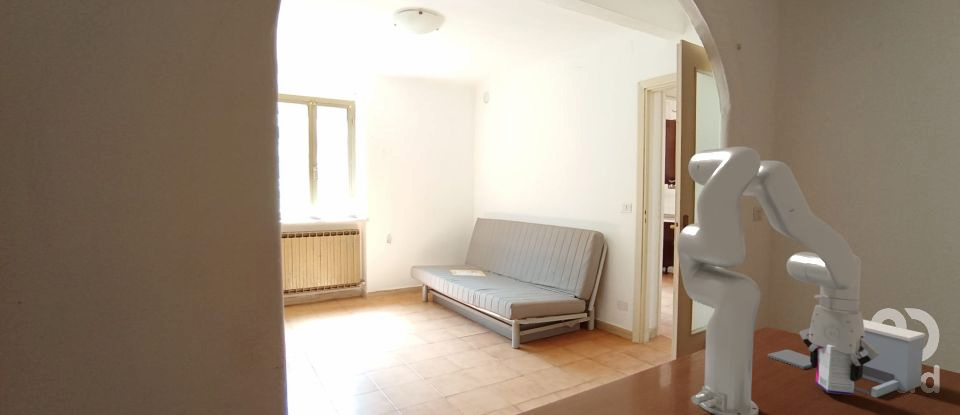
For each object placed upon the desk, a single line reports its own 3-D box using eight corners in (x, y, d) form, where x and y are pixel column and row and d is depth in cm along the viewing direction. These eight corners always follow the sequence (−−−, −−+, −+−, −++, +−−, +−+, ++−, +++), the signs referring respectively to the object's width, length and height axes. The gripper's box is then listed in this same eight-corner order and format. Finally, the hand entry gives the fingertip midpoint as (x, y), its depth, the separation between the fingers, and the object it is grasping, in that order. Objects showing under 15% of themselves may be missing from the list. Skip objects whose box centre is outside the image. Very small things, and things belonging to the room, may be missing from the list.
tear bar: (870, 395, 110) (870, 393, 110) (830, 381, 118) (830, 379, 118) (871, 395, 110) (872, 392, 110) (831, 380, 118) (831, 378, 118)
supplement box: (854, 395, 107) (857, 348, 107) (827, 392, 108) (829, 346, 108) (840, 384, 113) (843, 340, 112) (814, 382, 114) (816, 338, 114)
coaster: (803, 369, 126) (803, 366, 125) (767, 356, 134) (767, 354, 134) (823, 363, 130) (823, 360, 130) (786, 351, 139) (787, 349, 139)
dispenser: (884, 400, 107) (888, 344, 107) (818, 377, 120) (820, 327, 120) (922, 385, 116) (925, 333, 115) (855, 365, 129) (858, 318, 128)
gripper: (792, 296, 116) (788, 362, 117) (874, 314, 100) (870, 390, 101) (808, 294, 119) (805, 358, 120) (891, 311, 103) (886, 384, 104)
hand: (834, 372), depth 110 cm, fingers closed on supplement box, 7 cm apart
